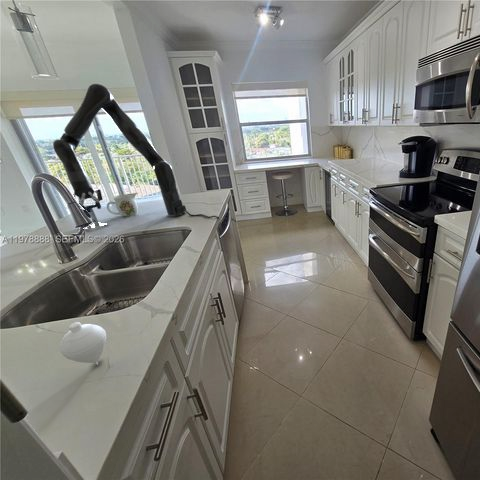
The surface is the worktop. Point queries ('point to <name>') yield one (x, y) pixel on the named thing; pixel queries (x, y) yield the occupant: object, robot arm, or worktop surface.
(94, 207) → the lever
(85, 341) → the spinning top
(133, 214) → the pitcher
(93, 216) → the toaster bracket
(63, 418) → the worktop surface
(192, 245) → the worktop surface
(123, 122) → the robot arm
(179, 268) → the worktop surface
